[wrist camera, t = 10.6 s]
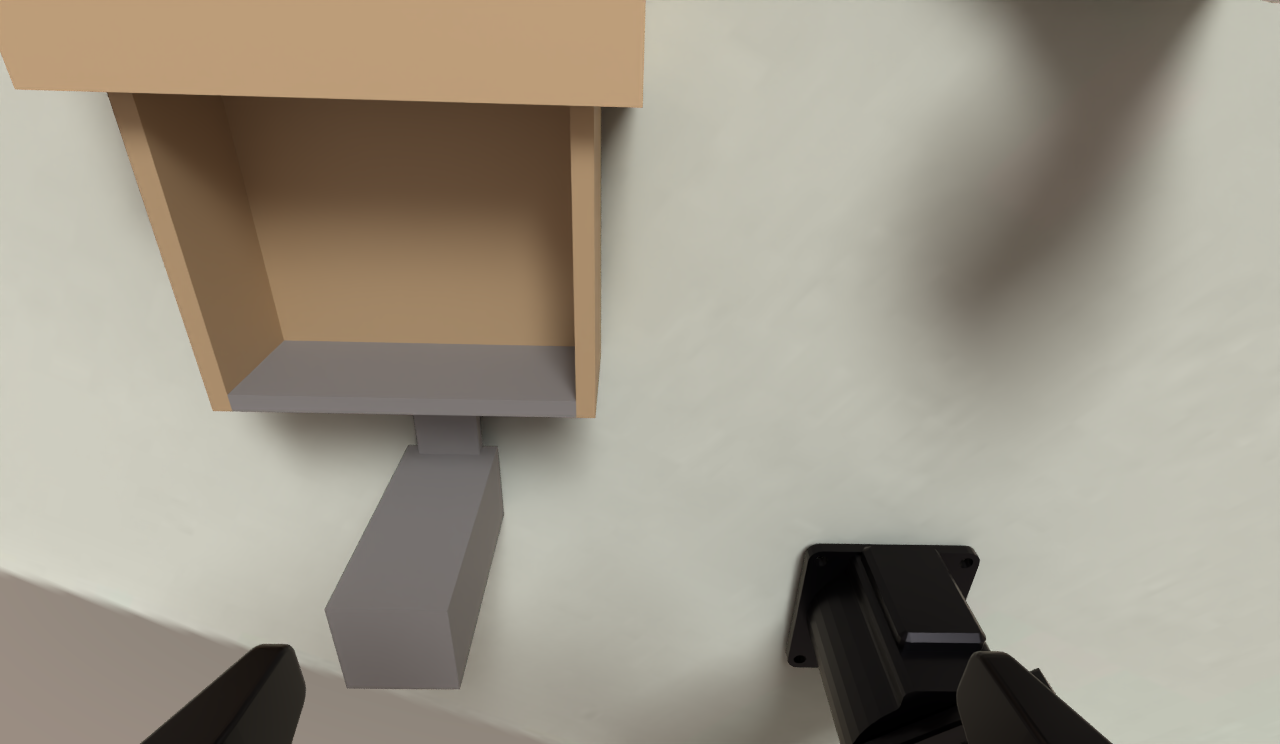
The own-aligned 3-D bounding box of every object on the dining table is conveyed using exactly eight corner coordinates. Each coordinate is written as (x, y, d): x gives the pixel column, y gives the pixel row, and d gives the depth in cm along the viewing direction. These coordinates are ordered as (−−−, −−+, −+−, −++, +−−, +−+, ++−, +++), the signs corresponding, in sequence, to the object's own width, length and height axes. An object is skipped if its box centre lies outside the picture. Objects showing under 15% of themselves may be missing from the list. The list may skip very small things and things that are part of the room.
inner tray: (600, 516, 24) (590, 690, 18) (321, 511, 24) (214, 686, 18) (600, -172, 15) (578, -303, 8) (138, -190, 14) (-231, -337, 8)
